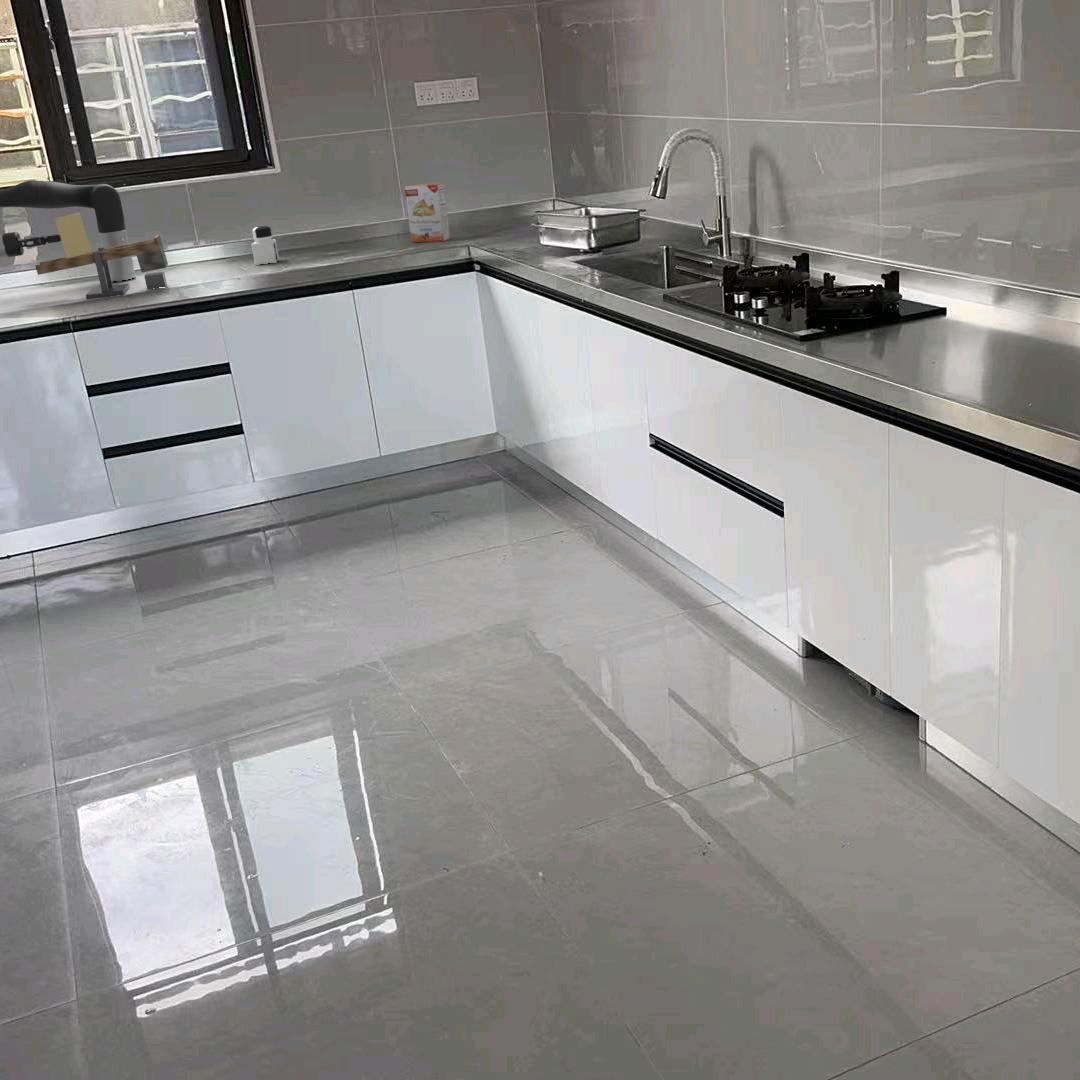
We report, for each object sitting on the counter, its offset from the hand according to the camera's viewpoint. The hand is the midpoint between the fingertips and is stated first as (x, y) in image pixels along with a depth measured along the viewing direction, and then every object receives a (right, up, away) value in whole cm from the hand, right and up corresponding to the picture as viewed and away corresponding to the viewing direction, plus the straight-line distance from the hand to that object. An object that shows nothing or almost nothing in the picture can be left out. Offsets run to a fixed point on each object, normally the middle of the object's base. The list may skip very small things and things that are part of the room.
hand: (60, 237), depth 395 cm
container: (+57, +3, +48) cm, 75 cm away
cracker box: (+115, +14, +63) cm, 132 cm away
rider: (+4, -5, +6) cm, 9 cm away
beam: (+12, -11, +10) cm, 19 cm away
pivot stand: (+18, -15, +13) cm, 27 cm away
